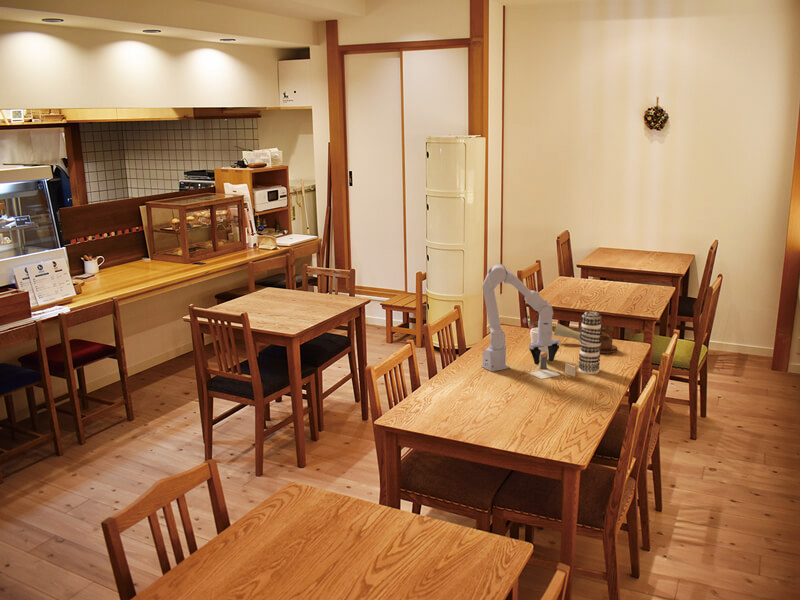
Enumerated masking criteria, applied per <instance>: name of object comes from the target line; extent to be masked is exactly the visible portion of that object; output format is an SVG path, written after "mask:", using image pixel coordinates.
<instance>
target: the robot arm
mask: <svg viewBox="0 0 800 600" xmlns="http://www.w3.org/2000/svg"><path fill="white" fill-rule="evenodd" d="M503 282H504V284H511V285H512V286H513V287H514V288H515V289H516V290H517V291H518V292H520V293H521V294H522V295H523V296H524V301H525V303H526V304H528V305H529V306H530V307H531V308H532V309H533V310H534V311H535V312H536V311H537V312H538V321H537V324H538V325H537V328H538V341H536V342H534V343H531V342H530V343H528V349H529V352H530V354H531V356H532V359H533V363H534V364H535V365H537V366H539V365H540V361H539V357H540V353H541V350H539V349H538V348H539V347H544V346H548V352H549V355H548V362H551V363H553V362H554V359H555V357H556V354H557V352H558V350H559V349H560V343H561V341H560V339H558V338H553V331H552V330H553V316H554V310H553V307H552V305H551V304H550V302H548V300H546V299H544V298H543V297H542V296H541V295H540V292H539V291H538V290H537V291H536V290H532V289H529V288H528V287H527V286H526V285H525V284H524V283H523V282H522V281H521V279H520V278H518V276H517V275H516V274H515V273H514V272H512V270H511V269H509V268H507V267H506V266H504V265H503V264H502V263H494V264H493V265H492V266H491V267H490V268H489V270H488V272H487V274H486V276H485V278H484V280H483V283H482V292H483V297H484V298H483V299H484V303H485V308H486V314H487V318H488V325H489V330H490V334H489V337H490V342H489V345H488V347H487V348H485V349H484V350H483V352H482V365H481V368H482V367H483V368H484V369H486V370H488V371H490V372H497V371H502V370H507V369H510V368H511V367H510V366H509V365H507V364H506V362H507V361H506V360H507V345H506V334H505V332H504V330H503V329H502V325H501V320H500V315H499V309H498V304H497V298H496V294H495V289H496V288H497V286H498V285H499V284H501V283H503Z"/></svg>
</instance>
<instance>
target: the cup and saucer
mask: <svg viewBox="0 0 800 600" xmlns="http://www.w3.org/2000/svg"><path fill="white" fill-rule="evenodd" d="M600 337H601V338H602V339H600V341H601V345H600V346H599V354H611V353H615V352H616V351H617V350H618V347H617V346H616V345H614V344H613V337H611V336H606V335H601V336H600Z"/></svg>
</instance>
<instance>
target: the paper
mask: <svg viewBox="0 0 800 600" xmlns="http://www.w3.org/2000/svg"><path fill="white" fill-rule="evenodd" d="M528 373H529V375H531V376H533V377H536V378H537V379H540V380H545V379H550V378H556V377H559V376H561V373H558V372H556V371H553V370H552V369H550V368H547V369H546V370H542V369H540V370H537V371H531V372H528Z"/></svg>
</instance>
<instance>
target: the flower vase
mask: <svg viewBox="0 0 800 600" xmlns="http://www.w3.org/2000/svg"><path fill="white" fill-rule="evenodd" d="M526 314H527V316H526V317H523V319H522V322H523V324H527V323H528V324H529V325H528V330H529V332H530V330H531V329H532V328H535V325H536V326H538V321H537V320H536V321H535V322H533V321H532V320H531V317H530V315H529V314H528V313H526ZM529 319H530V321H529ZM552 332H553V336H556V337H563V338H571V339H574V340H577V341H580V339H581V338H580V331H575V330H573V329H571V328H568V327H567V326H565V325H562V324H560V323H558V322H557V323H556V326H555V329H554V330H553V329H552ZM581 337H582V336H581Z"/></svg>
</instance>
